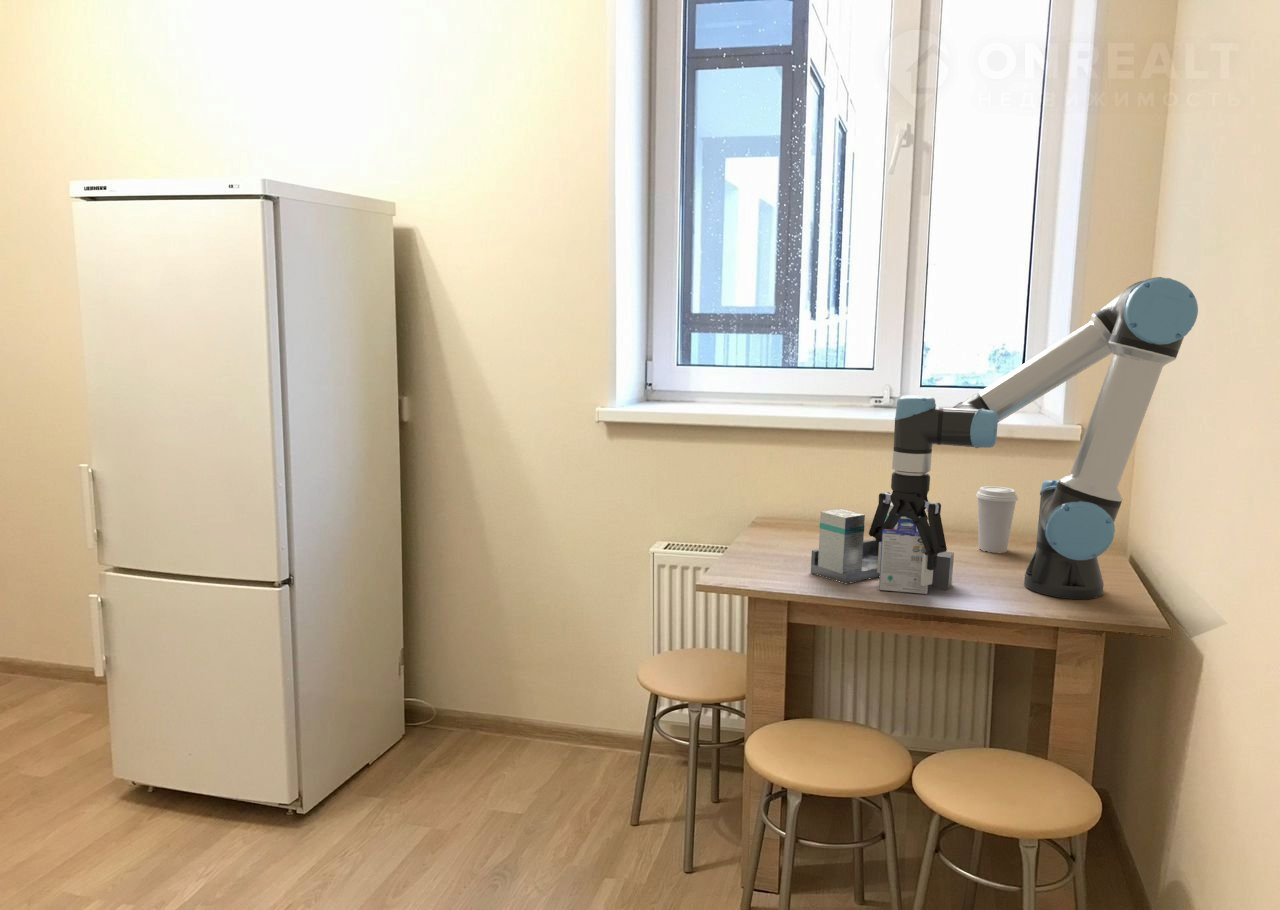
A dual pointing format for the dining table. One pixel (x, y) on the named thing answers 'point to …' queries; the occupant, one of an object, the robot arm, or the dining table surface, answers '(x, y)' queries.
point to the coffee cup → (995, 517)
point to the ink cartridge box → (902, 559)
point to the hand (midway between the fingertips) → (904, 578)
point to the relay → (943, 571)
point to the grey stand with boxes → (846, 547)
